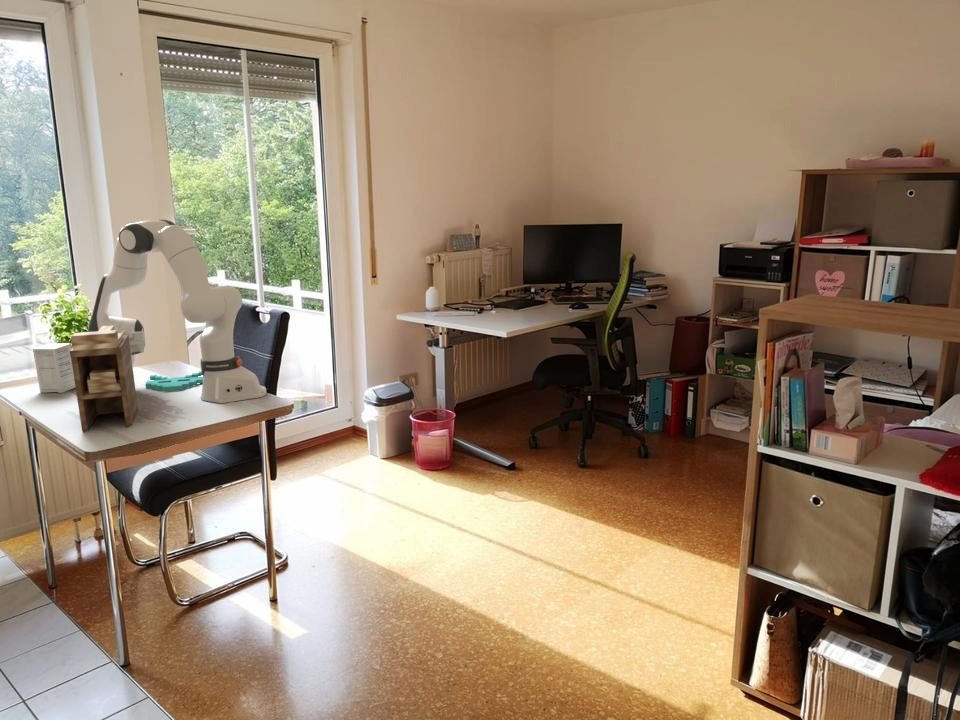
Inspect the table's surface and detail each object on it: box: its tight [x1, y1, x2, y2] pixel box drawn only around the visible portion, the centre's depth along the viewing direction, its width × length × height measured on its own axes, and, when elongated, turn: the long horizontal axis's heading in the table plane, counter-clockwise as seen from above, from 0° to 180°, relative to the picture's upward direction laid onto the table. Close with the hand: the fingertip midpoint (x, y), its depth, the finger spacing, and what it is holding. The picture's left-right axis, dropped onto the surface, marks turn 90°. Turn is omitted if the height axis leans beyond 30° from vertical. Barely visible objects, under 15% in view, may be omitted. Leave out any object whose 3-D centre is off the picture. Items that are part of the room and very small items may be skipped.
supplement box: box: [32, 342, 76, 394], centre depth 276 cm, size 10×9×17 cm
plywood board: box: [70, 325, 123, 351], centre depth 238 cm, size 12×28×4 cm, turn 18°
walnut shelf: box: [70, 335, 139, 433], centre depth 238 cm, size 14×20×26 cm
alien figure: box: [145, 370, 203, 392], centre depth 283 cm, size 20×2×20 cm
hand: (109, 333), depth 253 cm, fingers open, 8 cm apart
